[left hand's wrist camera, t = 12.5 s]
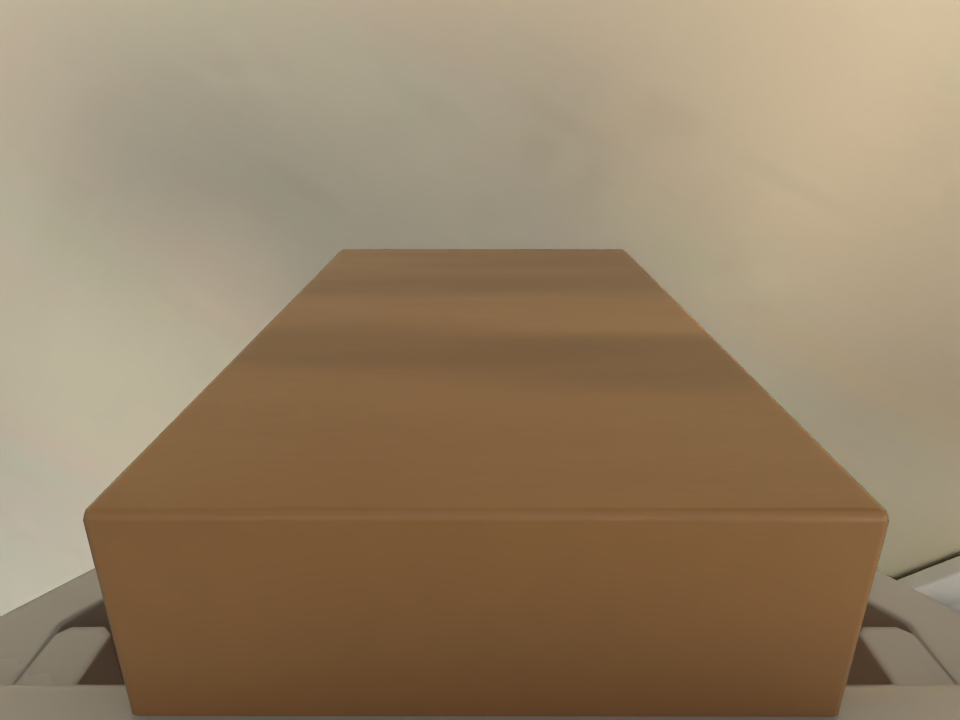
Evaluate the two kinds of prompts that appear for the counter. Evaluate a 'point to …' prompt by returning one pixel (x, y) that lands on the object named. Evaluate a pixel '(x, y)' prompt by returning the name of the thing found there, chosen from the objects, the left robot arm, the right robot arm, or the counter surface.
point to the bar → (485, 511)
